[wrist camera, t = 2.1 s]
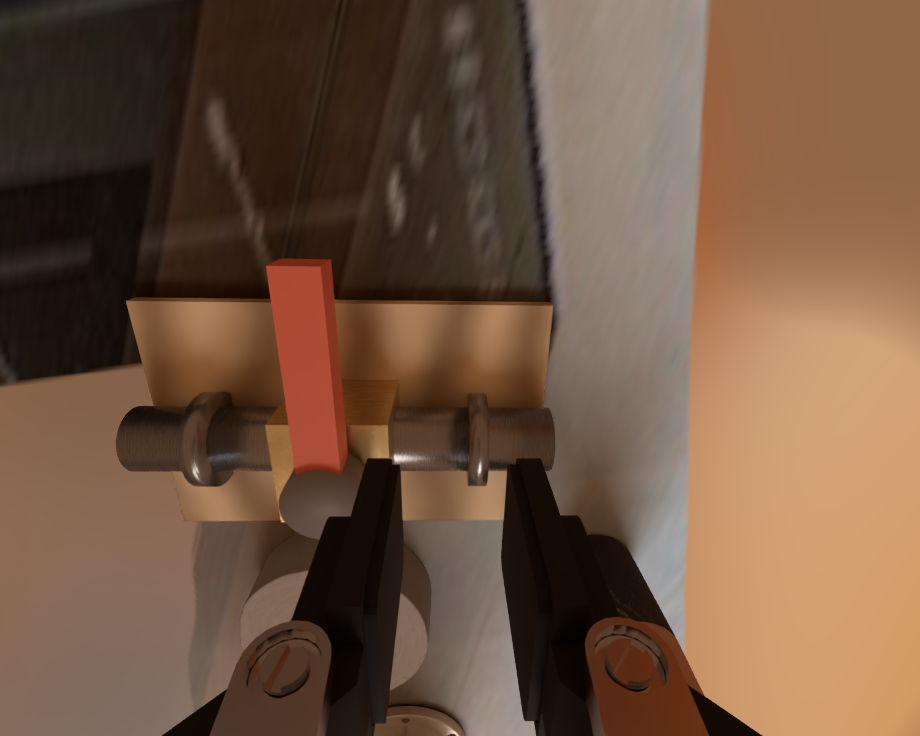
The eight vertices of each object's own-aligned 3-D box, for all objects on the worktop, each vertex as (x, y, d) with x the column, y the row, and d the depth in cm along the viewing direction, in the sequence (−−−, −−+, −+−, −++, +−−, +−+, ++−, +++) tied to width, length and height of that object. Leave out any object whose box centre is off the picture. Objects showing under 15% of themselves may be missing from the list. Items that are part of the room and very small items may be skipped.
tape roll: (242, 622, 43) (217, 677, 38) (287, 500, 38) (265, 545, 33) (396, 663, 46) (390, 719, 41) (458, 554, 40) (459, 604, 36)
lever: (369, 508, 28) (362, 539, 26) (297, 508, 28) (284, 539, 26) (352, 259, 22) (341, 268, 20) (261, 257, 22) (239, 267, 20)
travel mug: (550, 600, 42) (630, 925, 24) (547, 536, 40) (635, 850, 21) (632, 591, 42) (776, 911, 24) (635, 527, 39) (802, 834, 21)
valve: (543, 375, 34) (568, 425, 27) (535, 455, 36) (556, 521, 29) (155, 372, 33) (76, 424, 26) (176, 455, 35) (110, 523, 28)
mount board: (550, 302, 32) (553, 305, 31) (529, 511, 38) (531, 519, 37) (135, 297, 31) (126, 300, 30) (190, 512, 37) (184, 521, 37)
